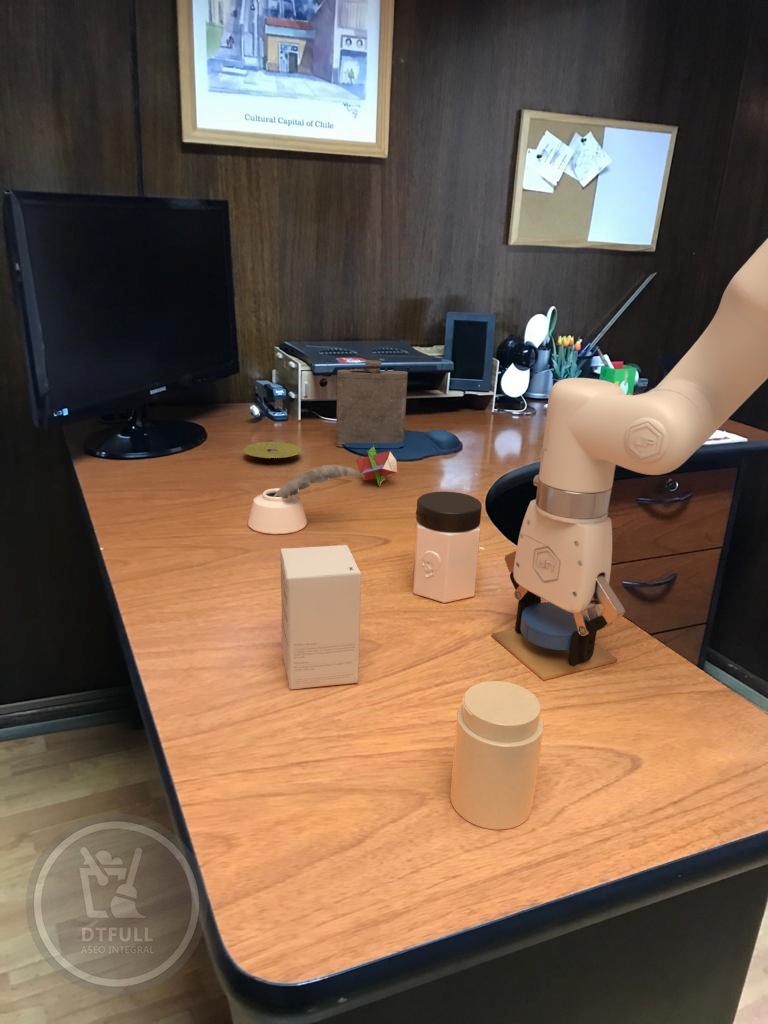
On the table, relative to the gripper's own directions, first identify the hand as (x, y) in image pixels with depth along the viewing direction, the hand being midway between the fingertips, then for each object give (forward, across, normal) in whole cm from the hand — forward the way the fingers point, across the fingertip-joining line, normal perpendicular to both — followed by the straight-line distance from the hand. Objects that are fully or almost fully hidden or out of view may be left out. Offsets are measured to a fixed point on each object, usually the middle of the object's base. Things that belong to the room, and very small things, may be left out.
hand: (552, 644), depth 87 cm
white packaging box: (+1, -10, -24) cm, 27 cm away
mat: (+1, -80, +7) cm, 80 cm away
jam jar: (+1, +14, -23) cm, 27 cm away
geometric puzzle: (+1, -58, +16) cm, 60 cm away
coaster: (+1, 0, 0) cm, 1 cm away
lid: (-3, 0, 0) cm, 3 cm away
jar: (+1, -18, -1) cm, 18 cm away
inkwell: (+1, -46, -5) cm, 47 cm away
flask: (+1, -78, +29) cm, 83 cm away
